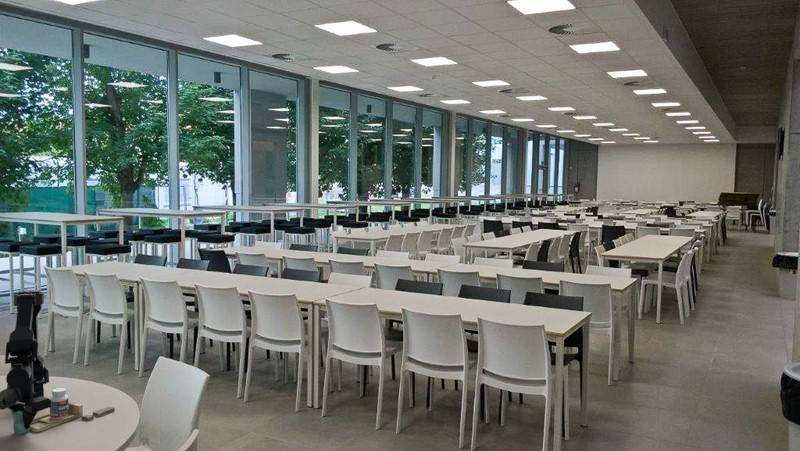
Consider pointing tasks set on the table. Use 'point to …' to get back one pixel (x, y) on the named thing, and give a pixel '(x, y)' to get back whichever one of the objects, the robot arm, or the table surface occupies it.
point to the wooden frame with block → (46, 419)
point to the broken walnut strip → (98, 413)
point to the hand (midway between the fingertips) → (23, 427)
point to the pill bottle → (59, 404)
